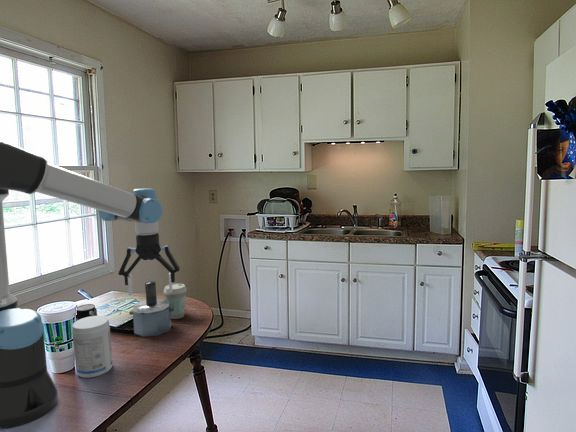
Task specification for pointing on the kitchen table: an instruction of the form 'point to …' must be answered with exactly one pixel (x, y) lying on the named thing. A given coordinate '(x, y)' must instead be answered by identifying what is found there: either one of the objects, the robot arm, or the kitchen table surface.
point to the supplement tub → (92, 346)
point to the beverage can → (86, 311)
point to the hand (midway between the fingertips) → (151, 292)
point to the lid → (151, 301)
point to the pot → (152, 322)
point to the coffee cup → (176, 299)
